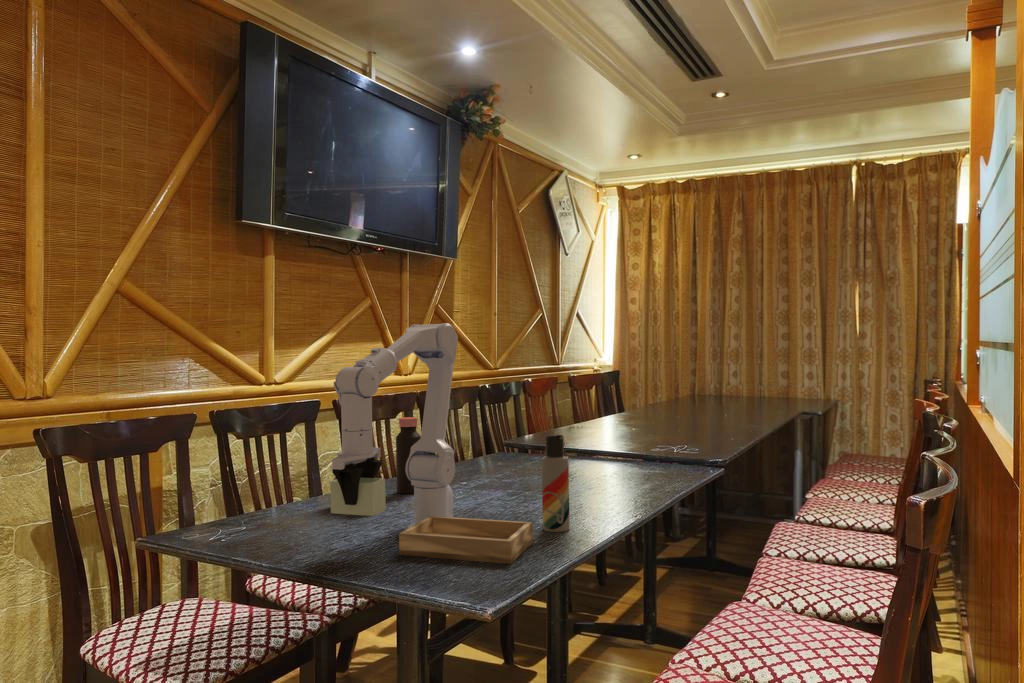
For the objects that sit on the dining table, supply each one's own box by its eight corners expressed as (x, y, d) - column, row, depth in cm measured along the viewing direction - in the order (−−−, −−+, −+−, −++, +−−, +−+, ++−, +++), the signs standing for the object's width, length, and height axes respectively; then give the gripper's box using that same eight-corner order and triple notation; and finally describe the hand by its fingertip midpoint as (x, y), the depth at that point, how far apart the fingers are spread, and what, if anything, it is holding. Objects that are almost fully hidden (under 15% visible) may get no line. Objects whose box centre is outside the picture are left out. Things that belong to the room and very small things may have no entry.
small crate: (344, 507, 136) (343, 476, 136) (385, 510, 133) (385, 478, 133) (330, 513, 131) (330, 481, 131) (373, 515, 128) (372, 483, 128)
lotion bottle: (550, 533, 143) (548, 436, 143) (538, 527, 148) (536, 433, 149) (574, 530, 145) (572, 434, 146) (561, 524, 151) (560, 432, 151)
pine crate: (430, 535, 144) (430, 515, 144) (532, 542, 137) (532, 522, 137) (399, 554, 130) (399, 533, 130) (511, 563, 124) (510, 541, 124)
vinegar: (419, 488, 192) (418, 416, 193) (424, 493, 186) (422, 418, 186) (394, 490, 190) (393, 417, 190) (398, 495, 184) (397, 419, 184)
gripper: (358, 425, 140) (359, 492, 140) (317, 434, 126) (318, 508, 126) (389, 425, 138) (390, 494, 138) (351, 434, 124) (352, 510, 124)
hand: (358, 501), depth 132 cm, fingers closed on small crate, 5 cm apart
